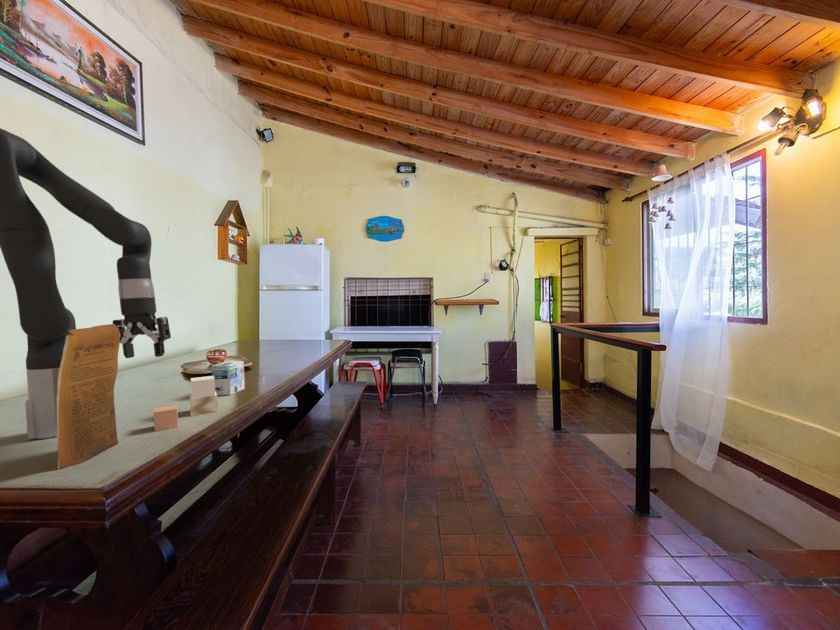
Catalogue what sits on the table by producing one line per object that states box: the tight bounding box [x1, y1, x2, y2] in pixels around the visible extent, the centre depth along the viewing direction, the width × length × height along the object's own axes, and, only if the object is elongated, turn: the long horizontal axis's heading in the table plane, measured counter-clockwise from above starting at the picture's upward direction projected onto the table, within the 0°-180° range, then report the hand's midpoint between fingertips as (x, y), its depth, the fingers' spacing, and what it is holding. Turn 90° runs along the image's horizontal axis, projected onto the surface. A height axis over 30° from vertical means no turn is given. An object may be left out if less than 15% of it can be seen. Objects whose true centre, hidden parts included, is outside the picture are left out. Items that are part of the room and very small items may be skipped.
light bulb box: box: [211, 360, 246, 396], centre depth 138 cm, size 11×7×11 cm, turn 179°
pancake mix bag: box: [56, 323, 121, 470], centre depth 82 cm, size 7×19×28 cm, turn 7°
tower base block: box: [189, 391, 219, 417], centre depth 114 cm, size 7×7×5 cm
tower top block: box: [190, 375, 215, 398], centre depth 113 cm, size 6×6×5 cm
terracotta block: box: [153, 404, 179, 432], centre depth 99 cm, size 5×5×5 cm
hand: (144, 356), depth 101 cm, fingers open, 8 cm apart
